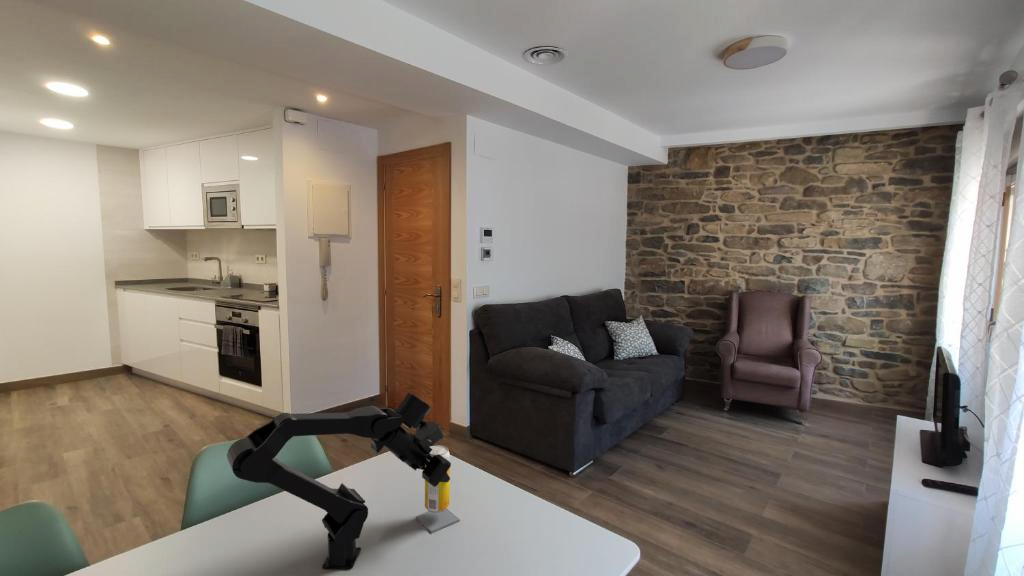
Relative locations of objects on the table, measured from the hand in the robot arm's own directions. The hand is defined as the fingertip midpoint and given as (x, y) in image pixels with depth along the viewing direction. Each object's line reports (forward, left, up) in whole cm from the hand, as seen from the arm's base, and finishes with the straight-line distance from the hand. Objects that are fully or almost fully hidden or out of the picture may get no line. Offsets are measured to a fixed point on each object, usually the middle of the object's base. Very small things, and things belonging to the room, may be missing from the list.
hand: (442, 475), depth 117 cm
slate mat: (-1, +1, -11) cm, 11 cm away
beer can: (-1, +1, -8) cm, 8 cm away
